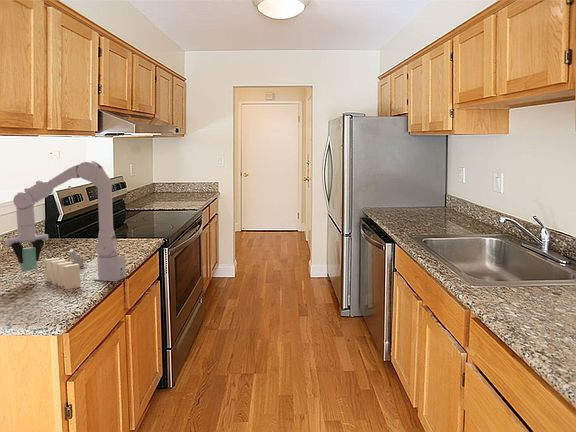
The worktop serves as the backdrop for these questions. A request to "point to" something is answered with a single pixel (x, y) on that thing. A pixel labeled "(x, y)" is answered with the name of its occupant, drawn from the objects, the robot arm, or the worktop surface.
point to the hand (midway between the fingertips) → (28, 261)
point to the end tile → (29, 259)
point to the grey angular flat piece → (76, 258)
